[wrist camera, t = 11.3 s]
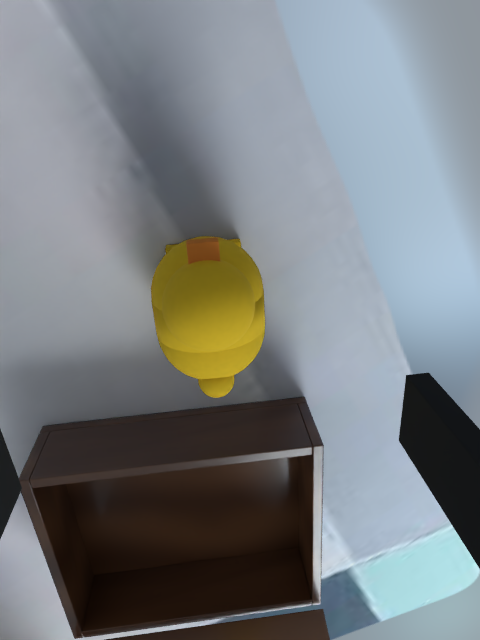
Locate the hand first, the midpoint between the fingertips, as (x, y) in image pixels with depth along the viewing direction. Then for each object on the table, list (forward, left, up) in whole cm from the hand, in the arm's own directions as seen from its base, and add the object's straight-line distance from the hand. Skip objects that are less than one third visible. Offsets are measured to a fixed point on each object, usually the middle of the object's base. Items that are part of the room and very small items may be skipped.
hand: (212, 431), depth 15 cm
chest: (+17, -3, -15) cm, 23 cm away
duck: (0, 0, -15) cm, 15 cm away
